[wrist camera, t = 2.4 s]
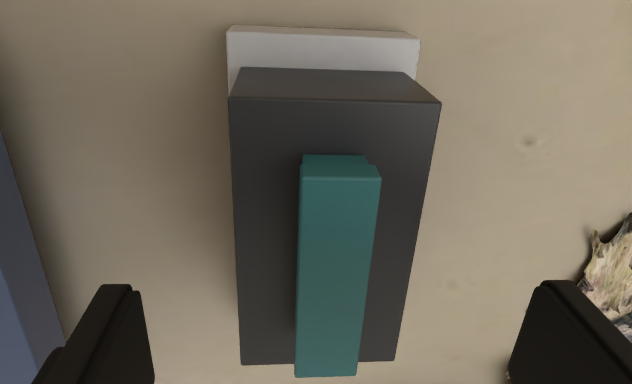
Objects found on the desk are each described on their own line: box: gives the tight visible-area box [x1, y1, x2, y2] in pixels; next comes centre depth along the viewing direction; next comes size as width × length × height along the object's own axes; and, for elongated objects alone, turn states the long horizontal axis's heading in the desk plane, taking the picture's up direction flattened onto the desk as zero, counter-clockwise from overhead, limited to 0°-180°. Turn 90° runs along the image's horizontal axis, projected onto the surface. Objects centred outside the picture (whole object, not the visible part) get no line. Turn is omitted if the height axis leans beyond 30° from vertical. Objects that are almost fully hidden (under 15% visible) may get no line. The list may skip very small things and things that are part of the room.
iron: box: [226, 25, 442, 378], centre depth 15 cm, size 14×6×7 cm, turn 177°
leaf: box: [504, 213, 632, 379], centre depth 22 cm, size 11×15×2 cm
